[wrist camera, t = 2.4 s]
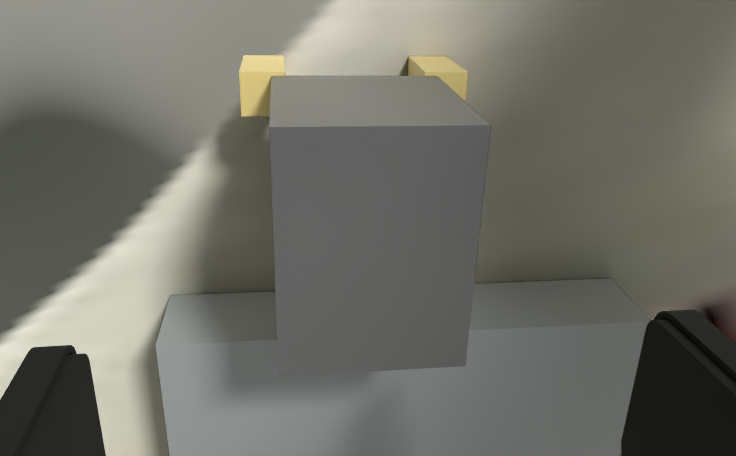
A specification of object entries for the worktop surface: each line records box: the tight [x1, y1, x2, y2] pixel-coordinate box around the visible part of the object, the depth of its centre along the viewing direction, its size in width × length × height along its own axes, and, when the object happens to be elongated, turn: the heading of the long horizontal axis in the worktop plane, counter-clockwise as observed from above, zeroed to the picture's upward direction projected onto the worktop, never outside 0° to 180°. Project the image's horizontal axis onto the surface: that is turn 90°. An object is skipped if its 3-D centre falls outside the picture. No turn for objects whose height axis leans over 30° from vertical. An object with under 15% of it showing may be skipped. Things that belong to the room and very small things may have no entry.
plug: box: [239, 55, 491, 376], centre depth 18 cm, size 6×6×8 cm
